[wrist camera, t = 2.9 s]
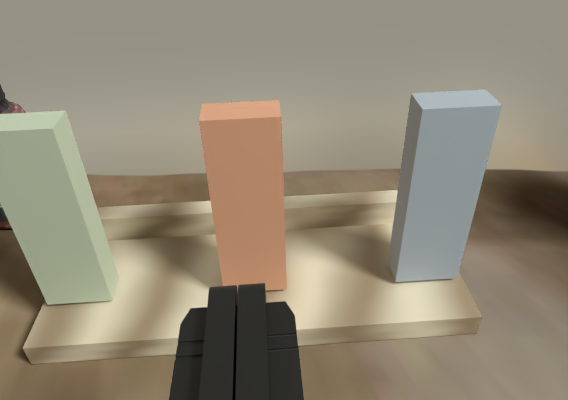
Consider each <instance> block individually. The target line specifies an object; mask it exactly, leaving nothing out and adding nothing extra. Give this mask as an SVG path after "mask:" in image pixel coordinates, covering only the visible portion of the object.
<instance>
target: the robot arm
mask: <svg viewBox="0 0 568 400" xmlns="http://www.w3.org/2000/svg"><path fill="white" fill-rule="evenodd" d="M169 400H304V397H303V388H302V378H301V369H300V359H299V350H298V340H297V331H296V321H295V315H294V313H293V312H292V310H291V309H290V307H289V306H288V304H287V303H286V301H281V302H267V299H266V288H265V283H257V284H243V285H238V289H237V285H231V286H217V287H210V288H209V293H208V304H207V307H201V308H190V310H189V312H188V313H187V315H186V316H185V318H184V319H183V321H182V323H181V324H180V330H179V337H178V345H177V350H176V360H175V364H174V370H173V377H172V384H171V390H170V397H169Z"/></svg>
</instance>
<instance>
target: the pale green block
mask: <svg viewBox="0 0 568 400" xmlns="http://www.w3.org/2000/svg"><path fill="white" fill-rule="evenodd" d="M0 204H1V206H2V208H3V210H4V212H5V214H6V216H7V219H8V221H9V223H10V225H11V227H12V229H13V232H14V234H15V236H16V238H17V240H18V242H19V244H20V247H21V249H22V251H23V253H24V255H25V257H26V259H27V262H28V264H29V266H30V268H31V270H32V272H33V275H34V277H35V279H36V281H37V283H38V285H39V287H40V290H41V292H42V294H43V296H44V298H45V300H46V302H47V305H51V304H67V303H82V302H97V301H112V300H113V296H114V293H115V290H116V287H117V283H118V280H119V276H118V272H117V269H116V266H115V263H114V260H113V257H112V254H111V251H110V247H109V244H108V241H107V238H106V235H105V232H104V229H103V226H102V222H101V219H100V216H99V213H98V210H97V207H96V204H95V201H94V197H93V194H92V191H91V188H90V185H89V182H88V179H87V176H86V172H85V169H84V166H83V163H82V160H81V157H80V154H79V151H78V147H77V144H76V141H75V138H74V135H73V132H72V129H71V126H70V122H69V119H68V116H67V113H66V111H54V112H53V111H51V112H32V113H11V114H0Z"/></svg>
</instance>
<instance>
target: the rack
mask: <svg viewBox="0 0 568 400" xmlns="http://www.w3.org/2000/svg"><path fill="white" fill-rule="evenodd" d="M397 192H398V190H391V191H374V192H357V193H340V194H322V195H305V196H288V197H284V217H285V248H286V279H287V289H282V290H267V291H266V299H267V302H281V301H286V303H287V304H288V306H289V307H290V309H291V310H292V312H293V313H294V315H295V321H296V331H297V340H298V346H302V345H316V344H330V343H345V342H359V341H374V340H388V339H403V338H417V337H431V336H446V335H460V334H475V333H477V332H478V329H479V326H480V323H481V319H482V316H481V314H480V312H479V310H478V308H477V306H476V304H475V302H474V300H473V298H472V296H471V294H470V292H469V290H468V289H467V287H466V285H465V283H464V281H463V279H462V277H461V275H460V273H459V272H458V276H457V278H452V279H436V280H421V281H405V282H395V279H394V276H393V273H392V271H391V268H390V265H389V262H388V257H389V250H390V243H391V236H392V229H393V221H394V214H395V207H396V200H397ZM97 210H98V213H99V216H100V219H101V222H102V226H103V229H104V232H105V235H106V238H107V241H108V244H109V247H110V251H111V254H112V257H113V260H114V263H115V266H116V269H117V272H118V276H119V280H118V283H117V287H116V290H115V293H114V296H113V300H112V301H97V302H82V303H67V304H51V305H47V302H46V300H45V301H44V303H43V305H42V307H41V310H40V312H39V314H38V316H37V318H36V320H35V323H34V325H33V327H32V329H31V331H30V333H29V335H28V338H27V340H26V342H25V344H24V346H23V350H24V352H25V354H26V356H27V357H28V359H29V361H30V363H31V364H42V363H56V362H71V361H85V360H100V359H114V358H129V357H143V356H157V355H172V354H176V350H177V345H178V337H179V330H180V324H181V323H182V321H183V319H184V318H185V316H186V315H187V313H188V312H189V310H190V308H201V307H207V304H208V293H209V288H210V287H217V286H223V284H222V277H221V270H220V263H219V256H218V249H217V242H216V235H215V228H214V221H213V214H212V207H211V201H201V202H184V203H167V204H149V205H132V206H115V207H97Z"/></svg>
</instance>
